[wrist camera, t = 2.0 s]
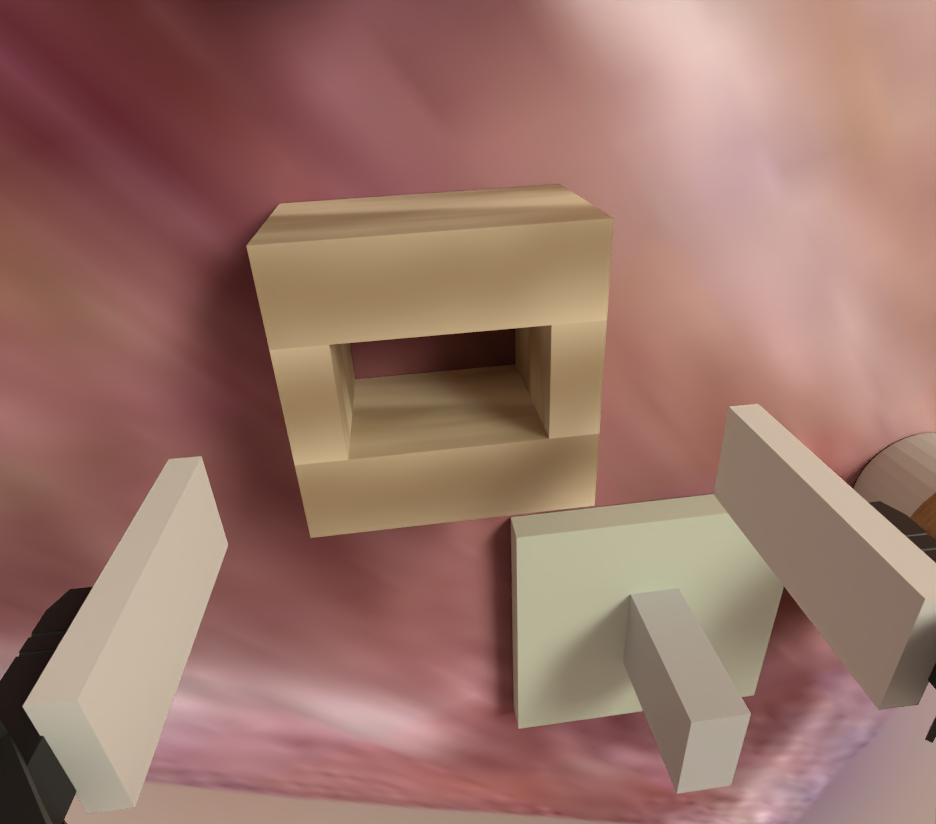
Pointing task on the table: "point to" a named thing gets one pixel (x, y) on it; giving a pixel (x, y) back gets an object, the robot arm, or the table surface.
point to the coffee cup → (904, 479)
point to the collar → (427, 314)
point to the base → (597, 592)
